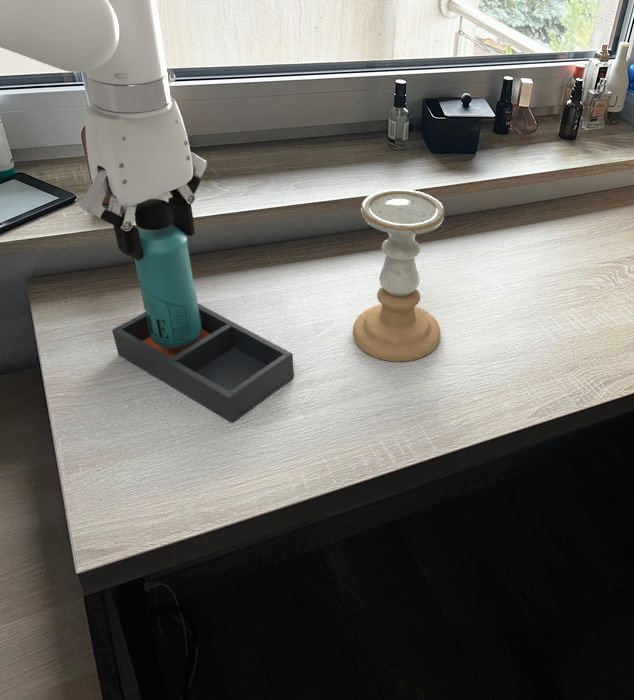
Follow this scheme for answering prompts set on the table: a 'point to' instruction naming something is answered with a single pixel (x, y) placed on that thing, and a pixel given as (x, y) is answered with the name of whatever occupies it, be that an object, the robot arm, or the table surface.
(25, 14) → the robot arm
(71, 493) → the table surface
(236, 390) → the two compartment tray
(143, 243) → the beverage bottle
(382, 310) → the candle holder
